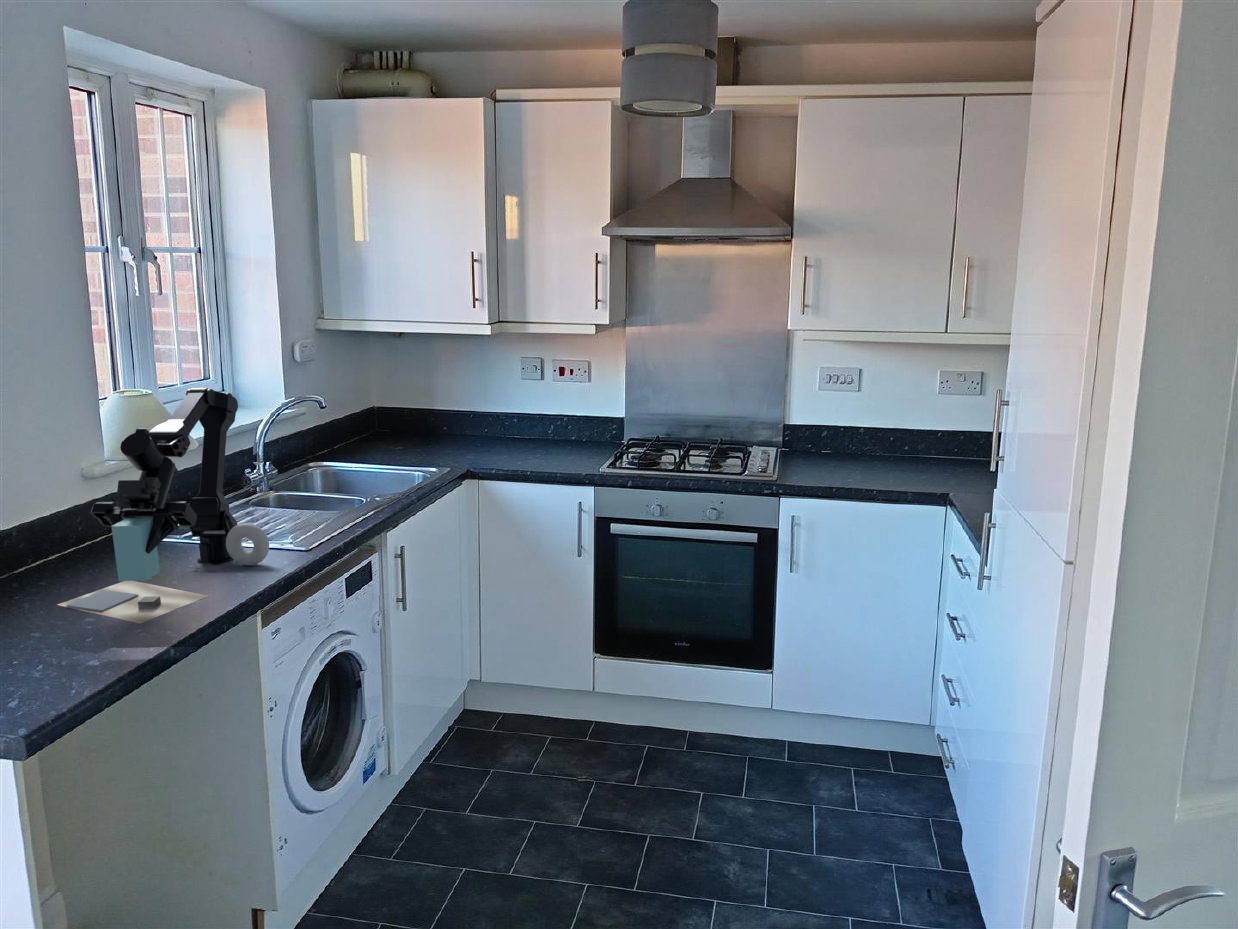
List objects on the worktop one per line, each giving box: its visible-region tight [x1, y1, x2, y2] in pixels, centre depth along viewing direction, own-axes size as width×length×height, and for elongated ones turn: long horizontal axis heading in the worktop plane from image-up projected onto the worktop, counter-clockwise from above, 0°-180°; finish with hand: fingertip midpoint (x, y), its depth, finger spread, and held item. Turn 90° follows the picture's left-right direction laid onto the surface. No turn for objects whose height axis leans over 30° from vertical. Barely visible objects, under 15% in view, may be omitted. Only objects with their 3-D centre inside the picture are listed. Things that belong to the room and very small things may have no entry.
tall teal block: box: [110, 518, 161, 582], centre depth 183 cm, size 5×5×11 cm
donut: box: [226, 522, 270, 567], centre depth 213 cm, size 10×3×10 cm, turn 84°
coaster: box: [66, 590, 139, 612], centre depth 188 cm, size 9×9×1 cm
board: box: [56, 581, 209, 625], centre depth 189 cm, size 16×24×3 cm, turn 65°
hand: (132, 552), depth 182 cm, fingers closed on tall teal block, 5 cm apart
